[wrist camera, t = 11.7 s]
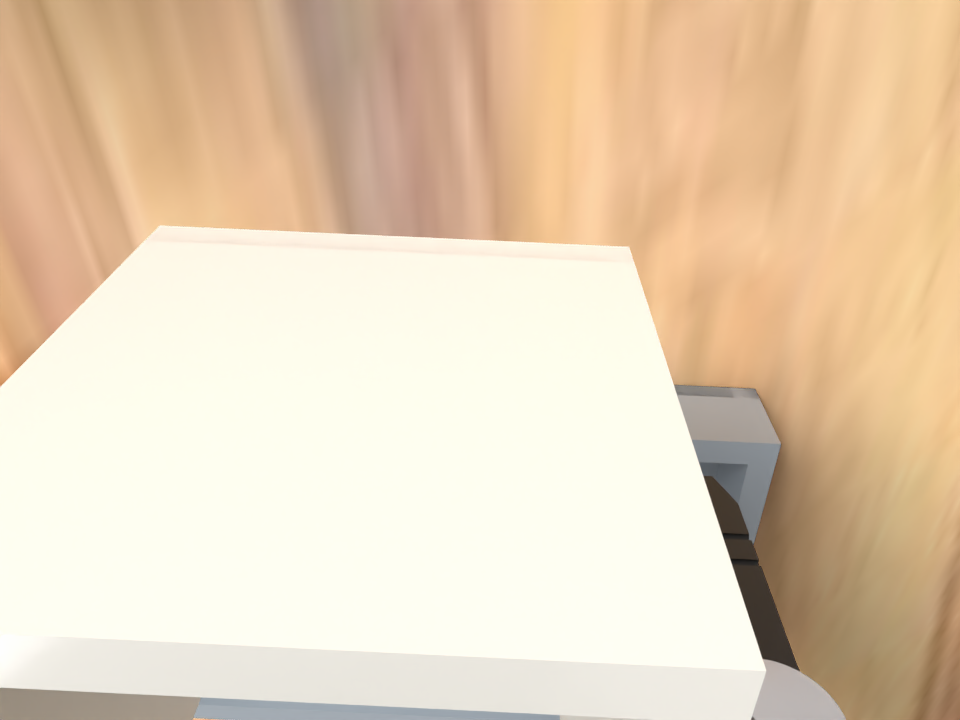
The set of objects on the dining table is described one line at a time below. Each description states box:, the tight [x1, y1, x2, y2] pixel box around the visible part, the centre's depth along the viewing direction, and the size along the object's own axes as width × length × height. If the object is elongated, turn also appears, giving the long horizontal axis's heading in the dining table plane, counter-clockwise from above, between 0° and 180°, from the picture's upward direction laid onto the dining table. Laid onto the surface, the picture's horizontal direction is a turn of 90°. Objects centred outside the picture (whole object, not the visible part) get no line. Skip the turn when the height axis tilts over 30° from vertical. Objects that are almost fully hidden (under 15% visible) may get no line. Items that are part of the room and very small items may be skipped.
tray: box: [194, 385, 781, 720], centre depth 29 cm, size 20×14×3 cm
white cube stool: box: [0, 226, 766, 720], centre depth 9 cm, size 6×6×6 cm
